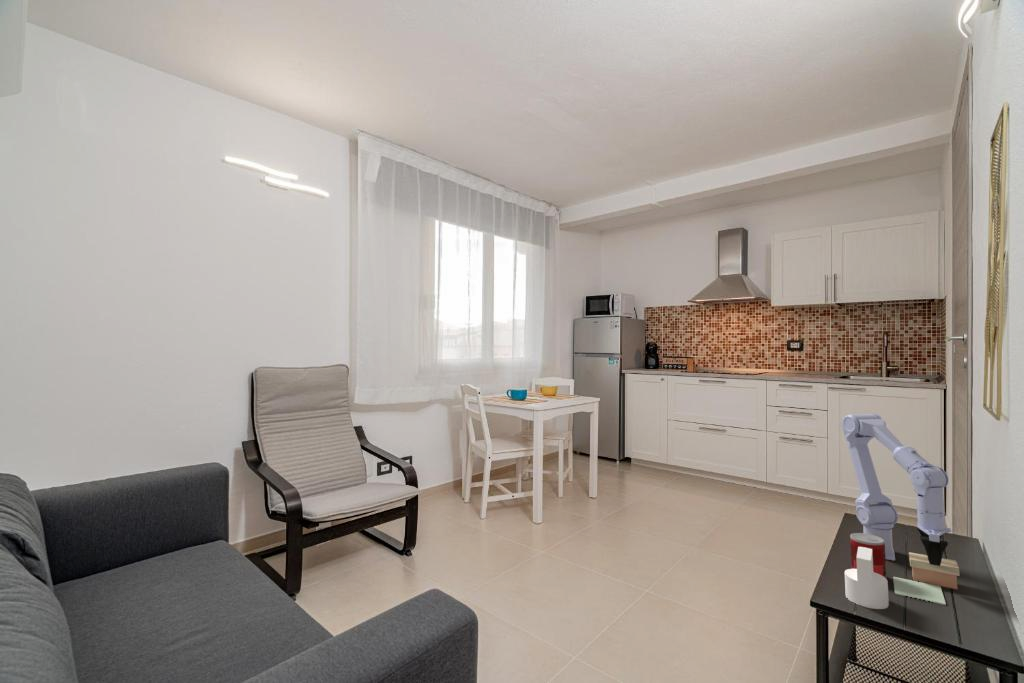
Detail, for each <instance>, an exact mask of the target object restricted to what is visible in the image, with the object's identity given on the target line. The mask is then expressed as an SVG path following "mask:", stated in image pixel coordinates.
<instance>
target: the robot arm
mask: <svg viewBox="0 0 1024 683" xmlns="http://www.w3.org/2000/svg"><path fill="white" fill-rule="evenodd" d="M840 424H841V428H842V431H843V434H844V439H845V440H846V445H847V449H848V452H849V455H850V458H851V462H852V466H853V469H854V473H855V477H856V480H857V483H858V487H859V490H860V493H861V494H860V496H858V497H857V498H856V499H855V501H854V503H855V515H856V518H857V520H858V521H859V522H860V524H861V525H862V526H863V528H862V530H863V532H862V533H865V534H871V535H875V536H878V537H880V538H882V539H883V540H884V542H885V557H886V560H890V561H894V562H895V561H896V557H895V556H896V555H895V550H894V548H893V546H894V544H893V529H892V528H895V525H896V524H897V523H898V521H899V514H898V511H897V510H896V508H895V507H894V505H893V502H892V499H890V498H889V497H888V496H886V495H885V494H884V493H882V489H881V486H880V483H879V480H878V476H877V473H876V469H875V465H874V463H873V459H872V456H871V453H870V449H869V445H868V444H869V442H870V441H871V440H872V439H876V440H877V441H879V443H881V444H882V445H883V446H884V447H886V448H887V449H888V450H889V451H891V452H892V457H893V460H894V461H895V462H896V463H897V464H898V465H900V467H901V468H902V469H903V470H905V472H906V473H908V477H909V480H910V483H911V484H912V486H913V491H914V493H915V495H916V497H915V498H916V511H917V514H916V516H917V523H916V530H917V531H918V532H919V534H920V535H919V539H920V541H921V543H922V544H923V546H924V548H925V549H924V550H925V553H926V555H927V557H928V560H929V563H930V564H931V565H937V566H940V564H941V561H942V558H943V554H944V553H945V550H946V548H947V547H948V545H949V542H948V541H946V540H941V539H942V537H943V535H945V533H952V529H951V528H950V527H946V522H945V521H946V519H945V503H944V502H945V500H944V488H946V487H947V486H948V485H949V476H948V474H947V472H946V471H945V470H944V469H943V467H940V466H939V465H934V464H931V463H929V462H928V461H927V460H926V459H925V458H924V457H923V456H921V455H920V454H919V453H918V451H917V450H916V449H915V447H911V446H905V445H904V444H903V443H901V441H900V440H899V439H898V438H897V437H896V435H894V433H892V431H891V430H889V429H888V427H887V425H886V424H887V423H886V420H884V419H883V418H882V417H881V416H880V414H877V413H869V414H868V413H867V414H863V413H862V414H846V415H845V416H844V417H843V419H842V421H841V423H840Z"/></svg>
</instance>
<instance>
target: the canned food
mask: <svg viewBox="0 0 1024 683" xmlns="http://www.w3.org/2000/svg"><path fill="white" fill-rule="evenodd" d="M849 543H850V545H849V546H850V565H851V569H857V560H856V557H857V551H858V547H865V548H870V549H872V553H873V572H875V573H877V574H880V575H882V576H883V577H885V578H886V579H887V561H886V560H887V559H886V557H885V542H884V540H883V539H882V538H880V537H878V536H875V535H871V534H865V533H863V532H853V533H851V534H850V535H849Z"/></svg>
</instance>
